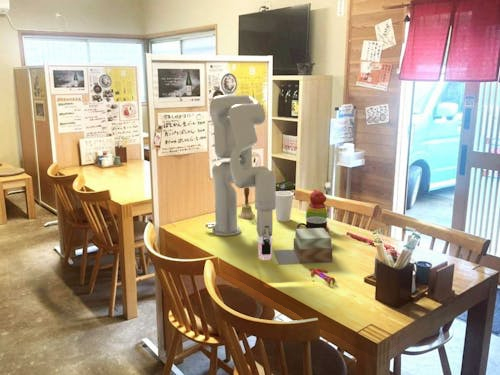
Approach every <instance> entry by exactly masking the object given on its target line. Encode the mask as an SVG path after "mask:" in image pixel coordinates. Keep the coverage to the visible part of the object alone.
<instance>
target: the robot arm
mask: <svg viewBox="0 0 500 375" xmlns="http://www.w3.org/2000/svg"><path fill="white" fill-rule="evenodd" d="M209 114H210V118H211V122H212V125H213V134H214V135H213V137H214V138H213V139H214V141H213V142H214V154H215V156H216V157H217V158H218V159H229V160H227V161H220V162H217V163H215V164H214V165H213V167H212V168H211V174H212V179H213V185H214V211H215V213H214V214H215V220H214V221H213V222H211V223H210V222H205V228H208V229H212V233H213V234H214V235H216V236H218V237H219V236H221V237H231V236H236V235H238V234H240V233H241V232H242V231H241V227H240V226H238V195H237V194H238V193H237V191H236V189H235V187H233V186H232V184H234V185H235V186H236V187H237V188H239V189H245V188H249V189H250V188H254V209H255V210H256V232H257V235H258V236H259V237H261V236H262V242H263V244H262V255H267V254H271V244H270V237H271V236H272V237H273V227H274V226H273V222H274V221H273V216H274V215H273V214H274V213H273V211H275V207H276V192H277V190H276V189H277V188H276V186H277V184H276V183H277V182H276V181H277V176H276V172H275V171H273V170H270V169H269V168H268V167H266V166H264V165H263V166H262V165H261V166H260V165H259V166H253V150H252V147H253V146H255V145H256V144H257V142H258V137H257V132H256V130H255V129H256V128H255V126H258V125H262V124H264V122H265V121H266V110H265V109H264V107H263V105H262V104H261V103H260V102H259V101H257V100H256V99H255V98H254V97H252V96H251V95H248V94H223V95H217V96H214V97H212V99H211V100H210V102H209ZM264 234H265V236H264ZM258 236H257V237H258ZM264 238H265V240H264Z"/></svg>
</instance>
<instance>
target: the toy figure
mask: <svg viewBox="0 0 500 375" xmlns="http://www.w3.org/2000/svg"><path fill="white" fill-rule="evenodd" d="M308 270H309V271H310V277H311V278H313V277H314V274H315V275H316V276H318V277H319V278H322V279H324V280H327V284H328V286H331V282H332V285H335V283H336V279H335V278H334V277H333V276H330V275H327V274H328V273H329V271H328V270H326V269H324V268H316V269H315V268H314V267H310V268H309V269H308ZM323 272H325V273H327V274H324V273H323ZM312 282H313V283H314V282H315V280H312Z"/></svg>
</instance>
